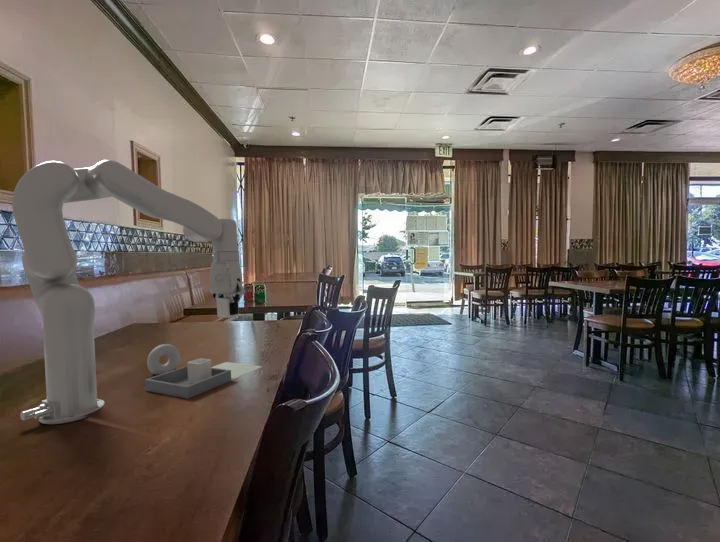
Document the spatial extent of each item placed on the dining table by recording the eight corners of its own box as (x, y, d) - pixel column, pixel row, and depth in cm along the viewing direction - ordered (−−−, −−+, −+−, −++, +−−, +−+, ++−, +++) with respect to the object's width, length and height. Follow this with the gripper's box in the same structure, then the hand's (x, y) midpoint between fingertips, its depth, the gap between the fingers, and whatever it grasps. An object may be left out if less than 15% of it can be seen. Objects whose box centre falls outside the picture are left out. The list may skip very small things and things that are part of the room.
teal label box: (228, 317, 115) (227, 298, 114) (217, 317, 117) (216, 298, 116) (238, 315, 119) (237, 296, 119) (228, 314, 121) (227, 296, 121)
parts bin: (187, 402, 94) (187, 387, 94) (145, 393, 101) (144, 379, 101) (231, 383, 108) (230, 370, 108) (191, 377, 115) (190, 364, 115)
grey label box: (199, 384, 105) (198, 363, 104) (188, 382, 106) (187, 361, 106) (211, 379, 109) (211, 359, 109) (200, 377, 111) (200, 357, 110)
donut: (150, 380, 112) (149, 348, 112) (145, 378, 115) (144, 346, 114) (182, 371, 120) (181, 341, 120) (177, 370, 123) (176, 340, 122)
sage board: (234, 382, 109) (233, 378, 109) (195, 375, 116) (195, 372, 116) (262, 369, 121) (262, 366, 121) (226, 364, 128) (226, 361, 128)
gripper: (197, 258, 117) (199, 314, 118) (237, 257, 110) (239, 317, 111) (215, 258, 124) (217, 311, 125) (254, 257, 117) (256, 313, 118)
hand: (227, 313), depth 118 cm, fingers closed on teal label box, 4 cm apart
